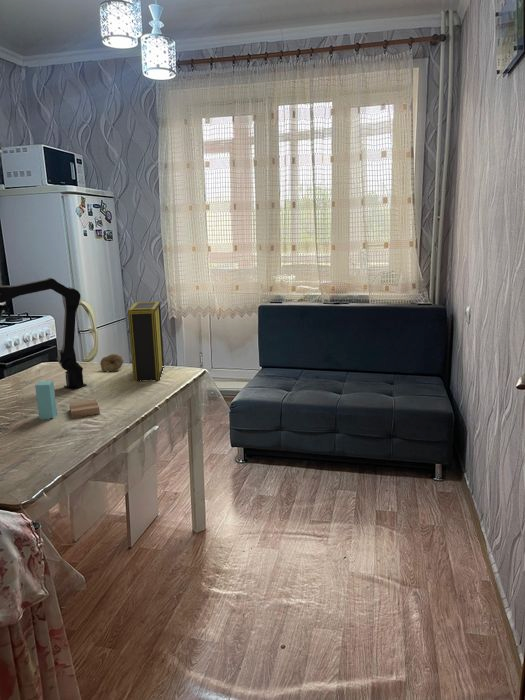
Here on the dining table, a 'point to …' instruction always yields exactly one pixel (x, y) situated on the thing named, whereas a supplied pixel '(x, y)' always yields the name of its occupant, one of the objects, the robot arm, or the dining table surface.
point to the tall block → (46, 399)
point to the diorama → (146, 340)
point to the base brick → (84, 408)
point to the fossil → (111, 362)
